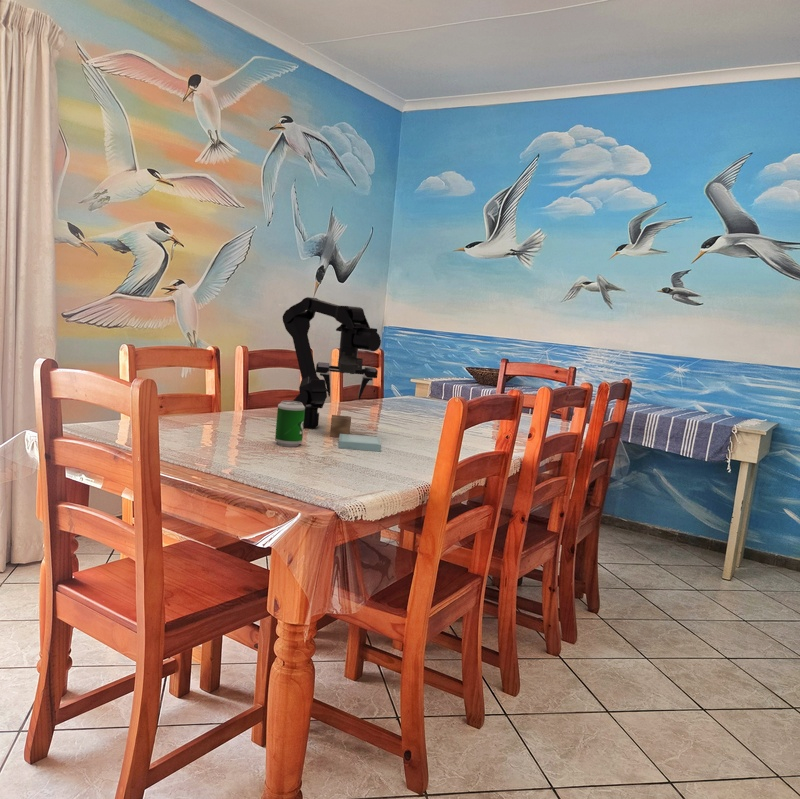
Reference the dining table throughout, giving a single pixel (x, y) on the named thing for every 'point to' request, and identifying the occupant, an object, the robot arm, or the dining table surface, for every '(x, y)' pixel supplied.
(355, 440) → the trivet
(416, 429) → the dining table surface
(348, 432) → the walnut cube
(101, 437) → the dining table surface
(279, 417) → the soda can
